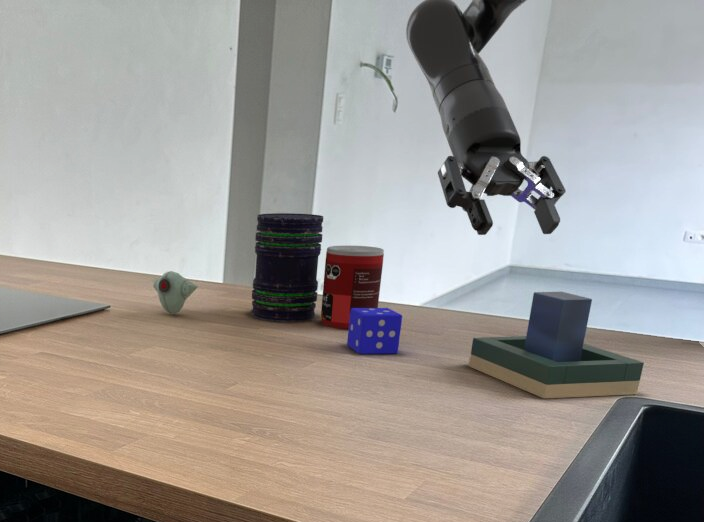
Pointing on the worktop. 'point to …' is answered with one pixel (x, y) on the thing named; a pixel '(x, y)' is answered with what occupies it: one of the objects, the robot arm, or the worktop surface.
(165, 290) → the robot head
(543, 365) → the tray
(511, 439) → the worktop surface
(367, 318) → the die
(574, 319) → the block
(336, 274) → the canned food
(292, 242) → the storage jar
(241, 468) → the worktop surface
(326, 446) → the worktop surface
